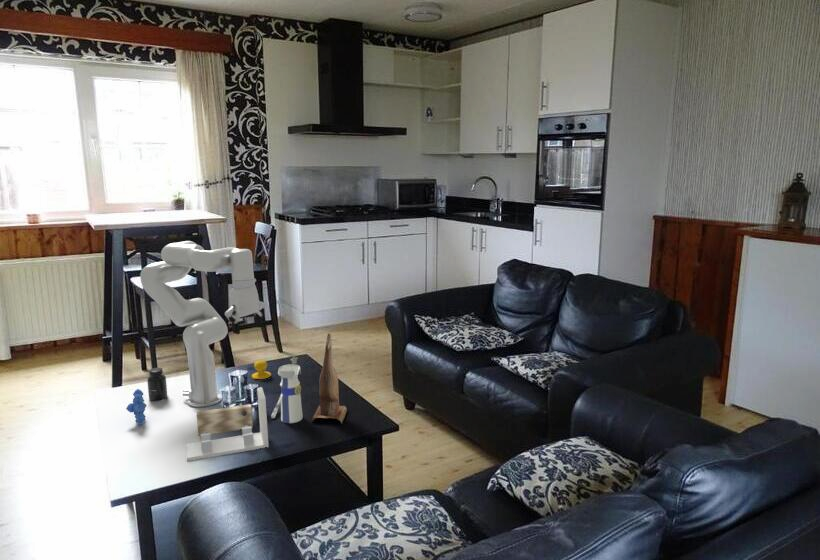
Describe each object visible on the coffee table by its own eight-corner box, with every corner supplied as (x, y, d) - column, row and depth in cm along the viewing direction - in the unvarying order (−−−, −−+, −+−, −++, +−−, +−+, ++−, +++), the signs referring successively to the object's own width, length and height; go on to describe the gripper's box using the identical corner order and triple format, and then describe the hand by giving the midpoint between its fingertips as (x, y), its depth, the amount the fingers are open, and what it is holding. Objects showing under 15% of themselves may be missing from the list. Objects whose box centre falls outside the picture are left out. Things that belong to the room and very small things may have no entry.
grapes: (128, 417, 215) (124, 387, 213) (148, 414, 218) (145, 383, 215) (127, 430, 205) (123, 398, 202) (148, 427, 207) (144, 395, 205)
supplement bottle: (149, 402, 228) (146, 373, 226) (148, 396, 234) (145, 368, 232) (168, 399, 231) (165, 370, 229) (166, 393, 237) (164, 365, 235)
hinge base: (187, 461, 183) (182, 410, 180) (187, 446, 192) (182, 398, 189) (268, 447, 191) (265, 398, 188) (265, 434, 201) (262, 387, 197)
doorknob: (266, 380, 250) (248, 379, 251) (273, 374, 258) (256, 373, 259) (265, 364, 248) (247, 363, 250) (272, 358, 256) (255, 357, 258)
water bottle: (308, 415, 215) (305, 350, 210) (295, 425, 207) (291, 357, 202) (290, 411, 218) (286, 347, 213) (276, 421, 211) (271, 354, 206)
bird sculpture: (311, 425, 208) (307, 339, 201) (317, 410, 219) (313, 328, 212) (342, 425, 208) (339, 339, 200) (347, 410, 219) (344, 328, 212)
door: (198, 437, 199) (196, 415, 197) (198, 433, 202) (196, 411, 201) (253, 429, 205) (251, 407, 203) (252, 425, 208) (250, 404, 206)
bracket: (295, 389, 235) (290, 372, 228) (281, 433, 218) (276, 415, 212) (287, 389, 235) (282, 371, 229) (273, 432, 218) (267, 415, 212)
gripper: (255, 278, 218) (259, 323, 221) (216, 287, 204) (220, 334, 208) (269, 280, 214) (272, 326, 217) (230, 289, 200) (234, 337, 203)
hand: (247, 330), depth 212 cm, fingers open, 9 cm apart
